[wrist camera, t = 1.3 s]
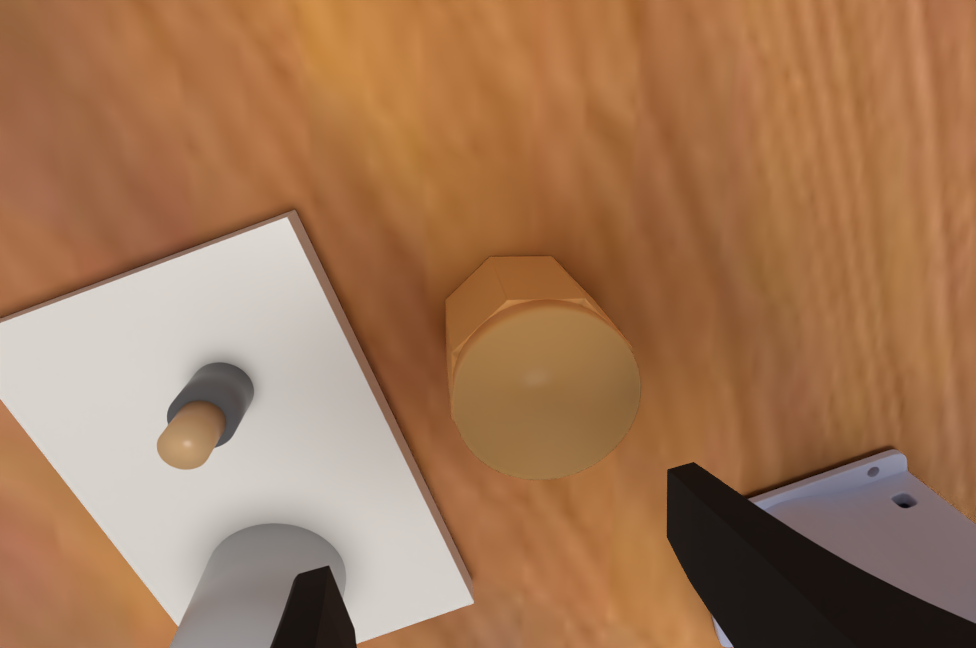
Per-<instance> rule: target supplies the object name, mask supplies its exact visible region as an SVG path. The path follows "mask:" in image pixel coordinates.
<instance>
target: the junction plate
mask: <svg viewBox="0 0 976 648" xmlns="http://www.w3.org/2000/svg"><path fill="white" fill-rule="evenodd" d="M0 399H1V400H2V402H3V403H4V404H5V405H6V407H7V408H8V409H9V411H10V412H11V413H12V414H13V416H14V417H15V418H16V420H17V421H18V422H19V423H20V425H21V426H22V427H23V429H24V430H25V431H26V432H27V434H28V435H29V436H30V437H31V439H32V440H33V441H34V443H35V444H36V445H37V446H38V448H39V449H40V450H41V452H42V453H43V454H44V455H45V457H46V458H47V459H48V461H49V462H50V463H51V464H52V466H53V467H54V468H55V470H56V471H57V472H58V473H59V475H60V476H61V477H62V478H63V480H64V481H65V482H66V484H67V485H68V486H69V487H70V489H71V490H72V491H73V493H74V494H75V495H76V496H77V498H78V499H79V500H80V502H81V503H82V504H83V505H84V507H85V508H86V509H87V510H88V512H89V513H90V514H91V516H92V517H93V518H94V519H95V521H96V522H97V523H98V525H99V526H100V527H101V528H102V530H103V531H104V532H105V534H106V535H107V536H108V537H109V539H110V540H111V541H112V542H113V544H114V545H115V546H116V548H117V549H118V550H119V551H120V553H121V554H122V555H123V557H124V558H125V559H126V560H127V562H128V563H129V564H130V566H131V567H132V568H133V569H134V571H135V572H136V573H137V575H138V576H139V577H140V578H141V580H142V581H143V582H144V583H145V585H146V586H147V587H148V589H149V590H150V591H151V592H152V594H153V595H154V596H155V598H156V599H157V600H158V601H159V603H160V604H161V605H162V607H163V608H164V609H165V610H166V612H167V613H168V614H169V615H170V617H171V618H172V619H173V621H174V622H175V623H176V624H177V626H178V629H177V631H176V634H175V636H174V638H173V640H172V643H171V645H170V647H169V648H270V646H271V644H272V641H273V638H274V636H275V633H276V630H277V628H278V625H279V622H280V620H281V617H282V614H283V611H284V608H285V605H286V602H287V599H288V596H289V593H290V590H291V587H292V584H293V581H294V579H295V577H296V576H297V575H298V574H300V573H303V572H307V571H310V570H314V569H317V568H321V567H324V566H328V565H329V566H330V569H331V571H332V574H333V576H334V579H335V581H336V584H337V586H338V589H339V591H340V594H341V596H342V599H343V601H344V604H345V606H346V609H347V611H348V614H349V616H350V619H351V621H352V624H353V626H354V629H355V636H356V644H357V643H360V642H363V641H366V640H369V639H372V638H375V637H377V636H380V635H383V634H386V633H389V632H392V631H395V630H398V629H401V628H403V627H406V626H409V625H412V624H415V623H418V622H421V621H424V620H427V619H429V618H432V617H435V616H438V615H441V614H444V613H447V612H450V611H453V610H455V609H458V608H461V607H464V606H467V605H470V604H473V603H474V595H473V585H472V579H471V577H470V575H469V573H468V571H467V569H466V567H465V565H464V563H463V560H462V558H461V556H460V554H459V552H458V550H457V548H456V546H455V544H454V542H453V540H452V537H451V535H450V533H449V531H448V529H447V527H446V525H445V523H444V521H443V519H442V516H441V514H440V512H439V510H438V508H437V506H436V504H435V502H434V500H433V498H432V495H431V493H430V491H429V489H428V487H427V485H426V483H425V481H424V479H423V477H422V474H421V472H420V470H419V468H418V466H417V464H416V462H415V460H414V458H413V456H412V454H411V451H410V449H409V447H408V445H407V443H406V441H405V439H404V437H403V435H402V433H401V430H400V428H399V426H398V424H397V422H396V420H395V418H394V416H393V414H392V412H391V409H390V407H389V405H388V403H387V401H386V399H385V397H384V395H383V393H382V391H381V389H380V386H379V384H378V382H377V380H376V378H375V376H374V374H373V372H372V370H371V368H370V365H369V363H368V361H367V359H366V357H365V355H364V353H363V351H362V349H361V347H360V344H359V342H358V340H357V338H356V336H355V334H354V332H353V330H352V328H351V326H350V324H349V321H348V319H347V317H346V315H345V313H344V311H343V309H342V307H341V305H340V303H339V300H338V298H337V296H336V294H335V292H334V290H333V288H332V286H331V284H330V282H329V279H328V277H327V275H326V273H325V271H324V269H323V267H322V265H321V263H320V261H319V259H318V256H317V254H316V252H315V250H314V248H313V246H312V244H311V242H310V240H309V238H308V235H307V233H306V231H305V229H304V227H303V225H302V223H301V221H300V219H299V217H298V214H297V212H296V210H292V211H290V212H287V213H284V214H281V215H279V216H276V217H273V218H271V219H268V220H265V221H263V222H260V223H257V224H254V225H252V226H249V227H246V228H244V229H241V230H238V231H235V232H233V233H230V234H227V235H225V236H222V237H219V238H217V239H214V240H211V241H208V242H206V243H203V244H200V245H198V246H195V247H192V248H190V249H187V250H184V251H181V252H179V253H176V254H173V255H171V256H168V257H165V258H163V259H160V260H157V261H154V262H152V263H149V264H146V265H144V266H141V267H138V268H136V269H133V270H130V271H127V272H125V273H122V274H119V275H117V276H114V277H111V278H108V279H106V280H103V281H100V282H98V283H95V284H92V285H90V286H87V287H84V288H81V289H79V290H76V291H73V292H71V293H68V294H65V295H63V296H60V297H57V298H54V299H52V300H49V301H46V302H44V303H41V304H38V305H36V306H33V307H30V308H27V309H25V310H22V311H19V312H17V313H14V314H11V315H9V316H6V317H3V318H0Z"/></svg>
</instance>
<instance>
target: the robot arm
mask: <svg viewBox="0 0 976 648" xmlns="http://www.w3.org/2000/svg"><path fill="white" fill-rule="evenodd" d="M870 468H871V469H870ZM869 469H870V470H869ZM868 470H869V471H868ZM667 538H668V540H669V542H670V544H671V546H672V548H673V550H674V552H675V554H676V556H677V558H678V560H679V562H680V564H681V566H682V568H683V569H684V571H685V573H686V575H687V577H688V579H689V581H690V582H691V584H692V586H693V587H694V589H695V590H696V592H697V593H698V595H699V596H700V598H701V599H702V601H703V602H704V604H705V605H706V607H707V608H708V610H709V611H710V613H711V616H712V620H713V623H714V627H715V631H716V635H717V638H718V640H719V642H720V643H721V645H722V646H724V647H734V648H976V524H975V523H974V522H972V521H971V520H970V519H968V518H967V517H966V516H965V515H963V514H962V513H961V512H959V511H958V510H957V509H956V508H954V507H953V506H952V505H951V504H949V503H948V502H947V501H945V500H944V499H943V498H942V497H940V496H939V495H938V494H936V493H935V492H934V491H933V490H931V489H930V488H929V487H928V486H926V485H925V484H924V483H922V482H921V481H920V480H919V479H917V478H916V477H915V476H913V475H912V474H911V473H910V472H908V470H907V459H906V456H905V455H904V454H902V453H901V452H900V451H898V450H895V449H892V450H888V451H885V452H882V453H879V454H876V455H873V456H871V457H868V458H865V459H862V460H859V461H856V462H853V463H850V464H847V465H845V466H842V467H839V468H836V469H833V470H830V471H827V472H824V473H822V474H819V475H816V476H813V477H810V478H807V479H804V480H801V481H798V482H796V483H793V484H790V485H787V486H784V487H781V488H778V489H775V490H772V491H770V492H767V493H764V494H761V495H758V496H755V497H752V498H749V499H747V498H745V497H744V496H742V495H741V494H739V493H738V492H736V491H735V490H734V489H732V488H731V487H729V486H728V485H726V484H725V483H723V482H722V481H721V480H719V479H718V478H716V477H715V476H713V475H712V474H711V473H709V472H708V471H706V470H705V469H703V468H702V467H700V466H699V465H697V464H696V463H694V462H693V463H689V464H685V465H682V466H678V467H675V468H671V469H668V470H667ZM270 648H357V646H356V636H355V629H354V626H353V624H352V621H351V619H350V616H349V614H348V611H347V609H346V606H345V604H344V601H343V599H342V596H341V594H340V591H339V589H338V586H337V584H336V581H335V579H334V576H333V574H332V571H331V569H330V566H329V565H328V566H324V567H321V568H317V569H314V570H310V571H307V572H303V573H300V574H298V575H297V576H296V577H295V579H294V581H293V584H292V587H291V590H290V593H289V596H288V599H287V602H286V605H285V608H284V611H283V614H282V617H281V620H280V622H279V625H278V628H277V630H276V633H275V636H274V638H273V641H272V644H271V646H270Z"/></svg>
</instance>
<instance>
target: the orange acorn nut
mask: <svg viewBox="0 0 976 648" xmlns="http://www.w3.org/2000/svg"><path fill="white" fill-rule="evenodd" d="M445 304H446V365H447V376H448V387H449V398H450V409H451V420H452V421H454V422H455V423H456V424H457V427H458V430H459V432H460V435H461V437H462V439H463V440H464V442H465V444H466V445H467V447H468V448H469V449H470V450H471V452H472V453H473V454H474V455H475V456H476V457H477V458H478V459H480V460H481V461H482V462H483V463H485V464H486V465H488V466H489V467H491V468H493V469H495V470H496V471H498V472H501V473H503V474H506V475H509V476H512V477H516V478H521V479H529V480H548V479H556V478H561V477H565V476H569V475H572V474H575V473H578V472H580V471H582V470H584V469H587V468H589V467H590V466H592V465H594V464H595V463H597V462H599V461H600V460H601V459H603V458H604V457H605V456H607V455H608V454H609V453H610V452H611V451H612V450H613V449H614V448H615V447H616V446H617V445H618V444H619V443H620V442H621V440H622V439H623V438H624V437H625V435H626V434H627V432H628V430H629V429H630V427H631V425H632V423H633V421H634V419H635V416H636V413H637V410H638V407H639V402H640V394H641V382H640V374H639V370H638V366H637V363H636V361H635V358H634V356H633V354H632V349H633V347H632V346H631V344H630V343H629V342H628V341H627V339H626V338H625V337H624V336H623V335H622V333H621V332H620V331H619V330H618V328H617V327H616V326H615V325H614V324H613V322H612V321H611V320H610V319H609V318H608V316H607V315H606V314H605V313H604V311H603V310H602V309H601V308H600V307H599V305H598V304H597V303H596V302H595V301H594V299H593V298H592V297H591V296H590V295H589V294H588V293H587V292H586V291H585V290H584V289H583V288H582V287H581V286H580V285H579V284H578V283H577V282H576V281H575V280H574V279H573V278H572V277H571V276H570V275H569V274H568V273H567V271H566V270H565V269H564V268H563V267H562V266H561V265H560V264H559V263H558V262H557V261H556V260H555V259H554V258H553V256H504V257H491V256H490V257H489V258H488V259H487V260H486V261H485V262H484V263H483V264H482V265H481V266H480V267H479V268H478V269H476V270H475V271H474V272H473V273H472V274H471V275H470V276H469V277H468V278H467V279H466V280H465V281H464V282H463V283H462V284H461V285H460V286H459V287H458V288H457V289H456V290H455V291H454V292H453V293H452V294H451V295H450V296H449V297H448V298H447V299H446V300H445Z"/></svg>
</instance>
